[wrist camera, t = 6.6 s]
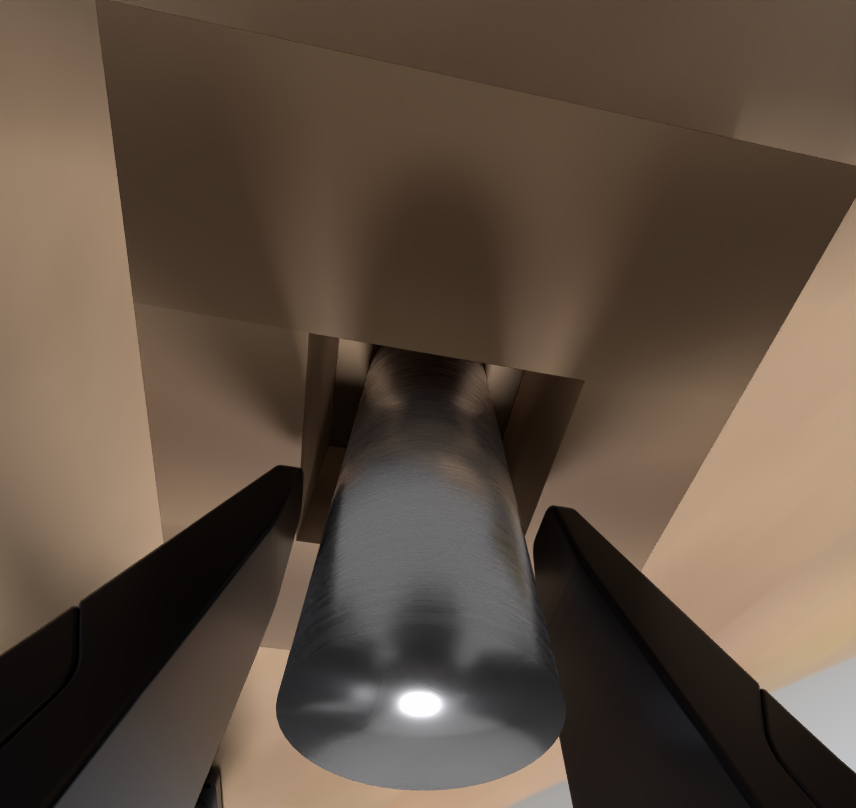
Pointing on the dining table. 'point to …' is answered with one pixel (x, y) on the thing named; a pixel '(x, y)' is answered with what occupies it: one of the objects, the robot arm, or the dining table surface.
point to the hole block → (438, 269)
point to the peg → (422, 597)
